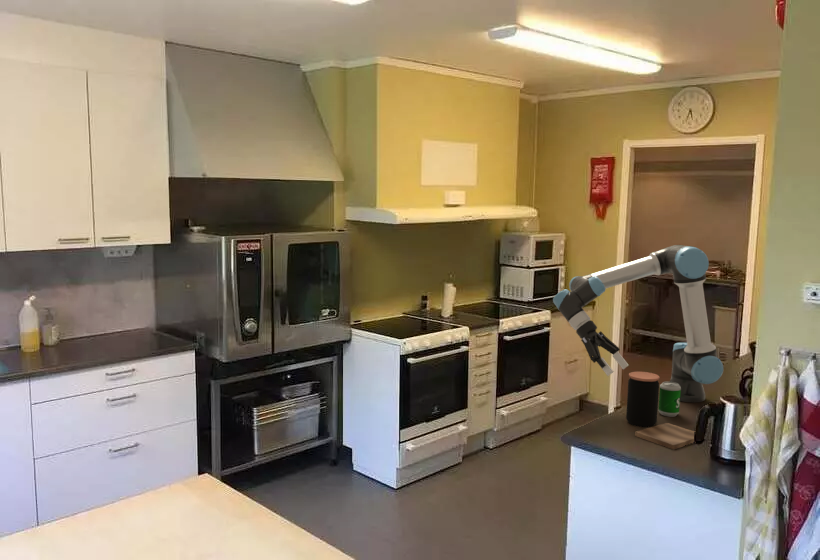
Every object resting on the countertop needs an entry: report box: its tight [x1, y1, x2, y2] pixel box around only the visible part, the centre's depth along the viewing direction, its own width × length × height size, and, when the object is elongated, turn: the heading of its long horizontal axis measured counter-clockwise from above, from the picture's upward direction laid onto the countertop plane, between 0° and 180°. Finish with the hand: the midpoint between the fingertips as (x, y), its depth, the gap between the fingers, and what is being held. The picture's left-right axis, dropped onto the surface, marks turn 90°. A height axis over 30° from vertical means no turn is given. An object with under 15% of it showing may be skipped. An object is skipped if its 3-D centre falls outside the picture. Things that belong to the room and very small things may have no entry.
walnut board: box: [634, 422, 695, 450], centre depth 231 cm, size 18×15×2 cm
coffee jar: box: [625, 371, 660, 428], centre depth 245 cm, size 11×11×18 cm
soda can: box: [658, 381, 681, 418], centre depth 256 cm, size 8×8×12 cm
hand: (618, 370), depth 250 cm, fingers open, 13 cm apart
